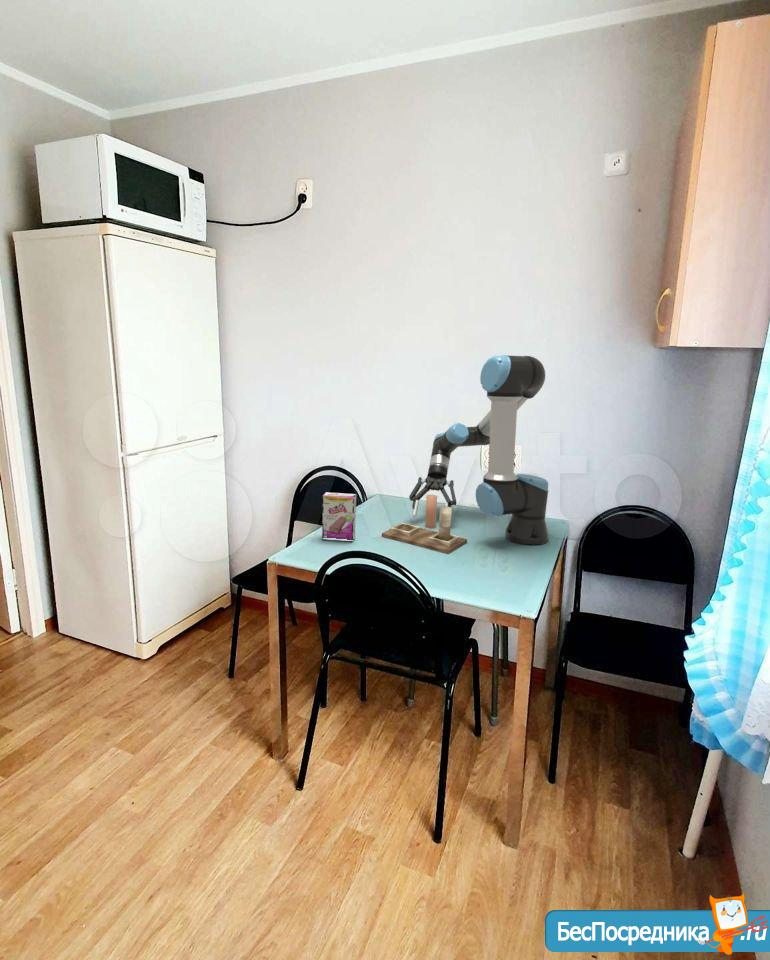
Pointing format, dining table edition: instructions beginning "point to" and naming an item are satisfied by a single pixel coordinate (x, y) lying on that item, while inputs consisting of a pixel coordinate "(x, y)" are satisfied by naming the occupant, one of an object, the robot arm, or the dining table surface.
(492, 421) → the robot arm
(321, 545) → the dining table surface
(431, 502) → the peg
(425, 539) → the board
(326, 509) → the candy bar box
